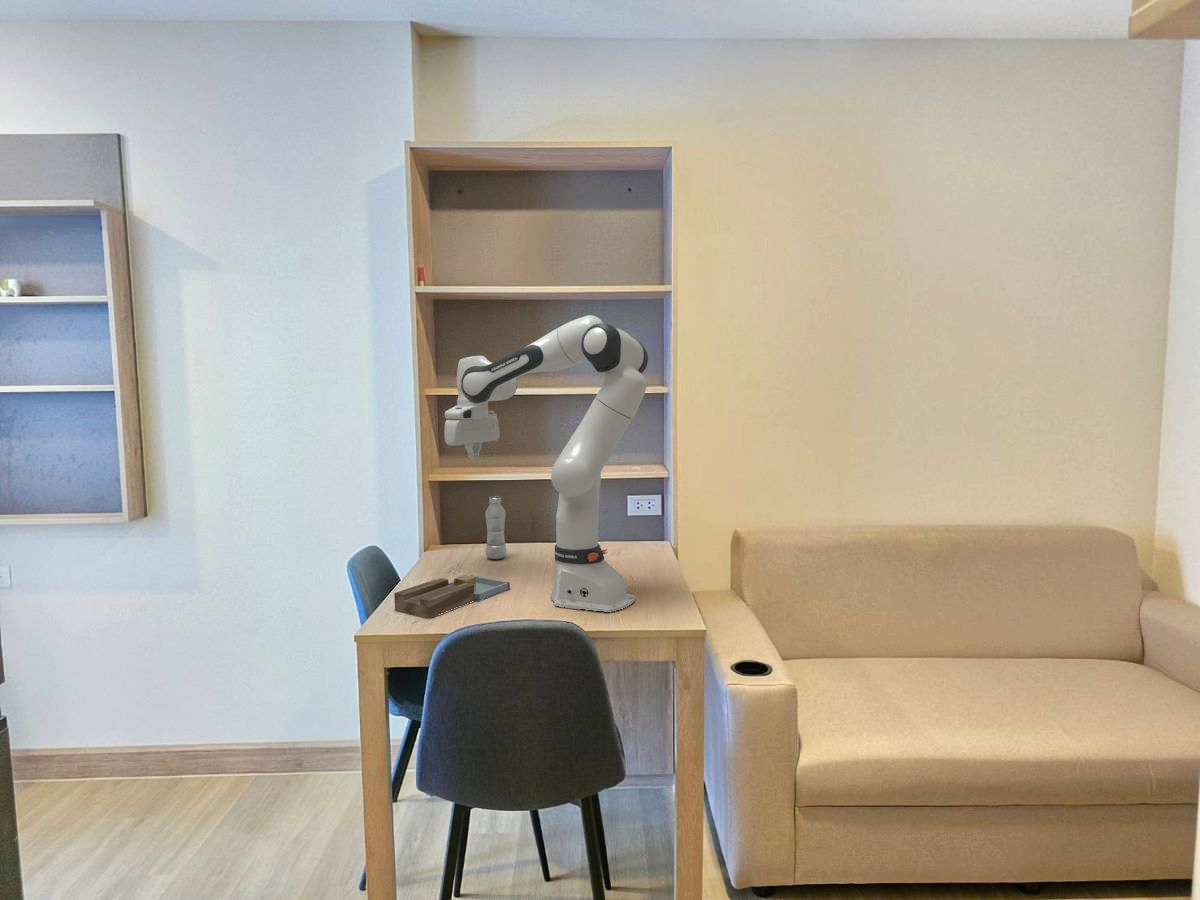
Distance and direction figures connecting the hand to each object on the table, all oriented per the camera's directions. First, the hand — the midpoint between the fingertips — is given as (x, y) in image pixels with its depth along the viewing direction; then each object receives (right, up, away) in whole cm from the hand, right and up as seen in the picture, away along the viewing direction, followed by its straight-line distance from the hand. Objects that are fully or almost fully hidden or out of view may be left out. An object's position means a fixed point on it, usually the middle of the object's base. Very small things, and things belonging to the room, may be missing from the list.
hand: (473, 458), depth 218 cm
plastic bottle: (+4, -33, +19) cm, 38 cm away
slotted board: (-5, -37, -28) cm, 47 cm away
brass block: (0, -34, -20) cm, 39 cm away
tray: (+3, -36, -16) cm, 40 cm away
